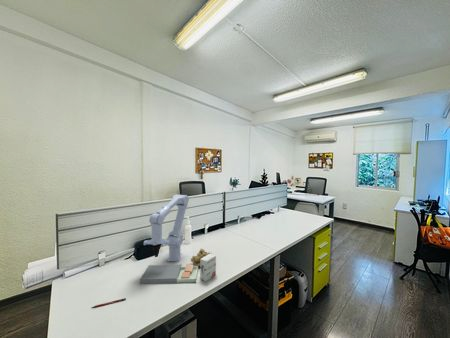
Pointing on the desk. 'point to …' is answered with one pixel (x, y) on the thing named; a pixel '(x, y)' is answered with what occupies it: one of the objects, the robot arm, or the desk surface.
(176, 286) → the desk surface
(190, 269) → the tile
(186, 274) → the tile
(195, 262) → the mineral formation
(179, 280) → the tray
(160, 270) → the board
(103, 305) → the pencil
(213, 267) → the ink box
